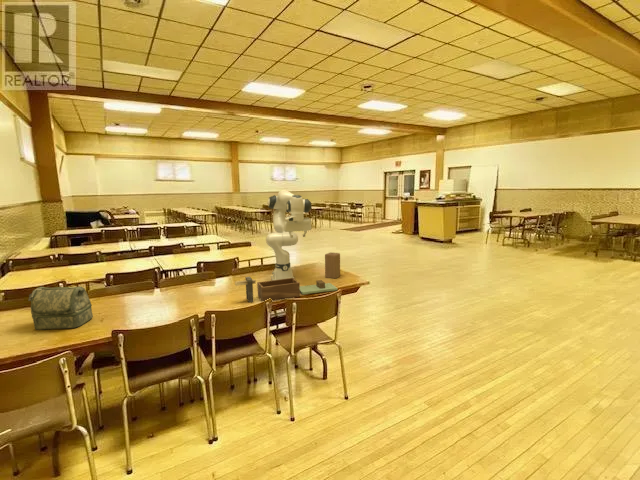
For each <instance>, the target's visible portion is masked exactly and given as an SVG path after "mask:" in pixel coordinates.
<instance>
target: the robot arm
mask: <svg viewBox="0 0 640 480" xmlns="http://www.w3.org/2000/svg"><path fill="white" fill-rule="evenodd" d="M267 207H268V209H271V210H273V209H274V211H273V213H272V223H273V229H274V231H275V232H272V233H268V234H267V235H266V237H265V242H266V244H267V246H268V247H270V248H271V249H272V250H273V252H274V255H275V265H274V267H275V268H274V269H273V271H271V275H270V278H271V280H279V279H287V278H294V279H295V276H294V275H293V269H292V268H291V261H290V257H291V256H290V253H289V251H287V250H286V249H284V248H283V247H289V246H290V247H291V246H295V245H297V244H298V242H299V236H298V234H297V233H296V232H304V233H303V234H302V237H303V238H306V234H307V232H308V231H312V219H311V218H310V217H304V216H305V215H304V213H306V214H307V213H309V212H310V211H311V210H312V208H313V207H312V202H311V201H310V199H308V198H304V197H303V196H302V195H300V194H294V193H292V192H290V191H289V190H287V189H281V190H278V193H277V195H275V194H274V195H271V196H269V197H268V198H267ZM286 213H287V214H288V213H290V215H289V216H286Z"/></svg>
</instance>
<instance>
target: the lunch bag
mask: <svg viewBox="0 0 640 480" xmlns="http://www.w3.org/2000/svg"><path fill="white" fill-rule="evenodd" d="M31 292H32V293H29V295H28V300H27V301H28V302H30V313H31V318H32V321H33V326H34V330H35V331H36V330H58V329H59V330H60V329H62V330H64V329H75V328H78V327H81V326H83V325H84V324H86V323H87V322H88V321H90V320H91V319H92V318H93V317H94V315H93V311H92V310H93V309H92V303H91V300H90V297H89V295H88V293H87V290H86V289H85V288H84V287H83V286H71V287H60V286H59V287H44V286H39V287H37V288H36V289H33V290H32V291H31Z"/></svg>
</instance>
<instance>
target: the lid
mask: <svg viewBox="0 0 640 480" xmlns="http://www.w3.org/2000/svg"><path fill="white" fill-rule="evenodd" d="M315 282H316V283H315V284H310V285H309V284H308V285H300V295H310V294H317V293H325V292H334V291H338V287H336V286H335V285H334V284H332V283H331V282H327V283H326V282H325V281H323V280H321V279H319V280H316V281H315Z"/></svg>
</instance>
